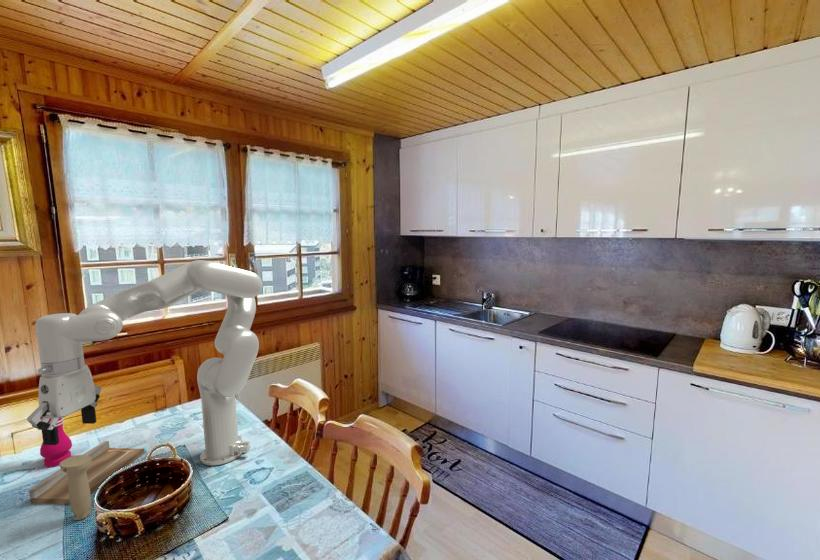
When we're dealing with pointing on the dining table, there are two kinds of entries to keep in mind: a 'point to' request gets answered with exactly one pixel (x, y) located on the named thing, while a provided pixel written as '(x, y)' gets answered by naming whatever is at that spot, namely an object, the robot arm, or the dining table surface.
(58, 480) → the board
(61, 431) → the pepper mill
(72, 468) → the handle
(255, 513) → the dining table surface
